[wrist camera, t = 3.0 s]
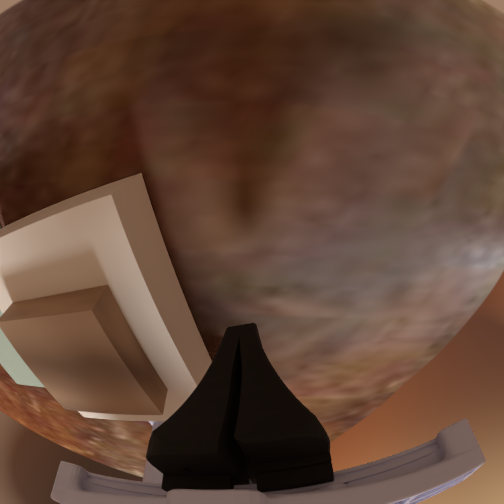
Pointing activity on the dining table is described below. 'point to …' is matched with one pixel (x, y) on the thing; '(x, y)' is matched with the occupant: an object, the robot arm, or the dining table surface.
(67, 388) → the walnut tile
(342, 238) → the dining table surface
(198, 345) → the cream flat block
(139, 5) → the dining table surface
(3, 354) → the mat
